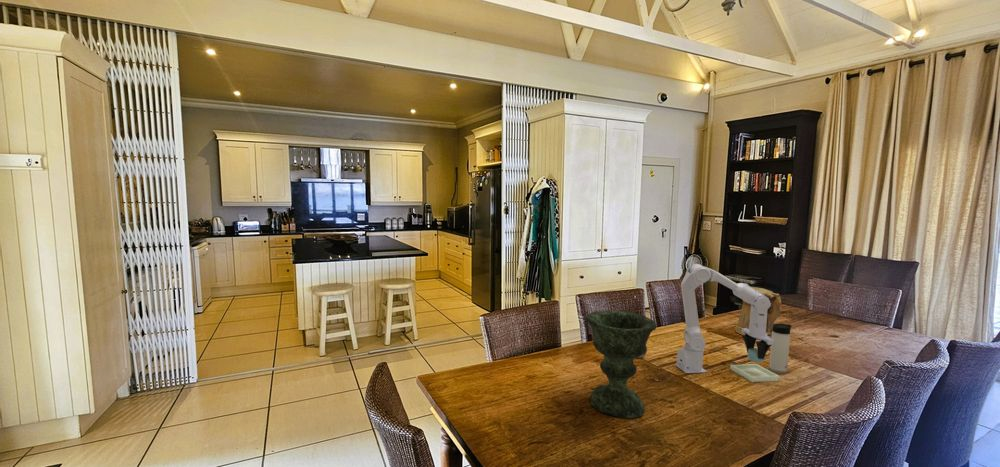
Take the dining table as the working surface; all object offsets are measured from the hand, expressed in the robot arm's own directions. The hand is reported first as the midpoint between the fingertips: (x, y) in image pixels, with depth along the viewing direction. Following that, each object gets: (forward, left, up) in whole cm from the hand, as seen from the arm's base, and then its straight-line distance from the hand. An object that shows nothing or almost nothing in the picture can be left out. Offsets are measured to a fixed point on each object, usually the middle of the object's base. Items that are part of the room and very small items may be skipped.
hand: (755, 355), depth 164 cm
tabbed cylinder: (0, 0, -2) cm, 2 cm away
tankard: (+41, +45, -8) cm, 61 cm away
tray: (0, 0, -8) cm, 8 cm away
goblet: (-67, -17, -8) cm, 70 cm away
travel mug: (+14, +3, -8) cm, 17 cm away
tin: (-43, +23, -8) cm, 49 cm away
